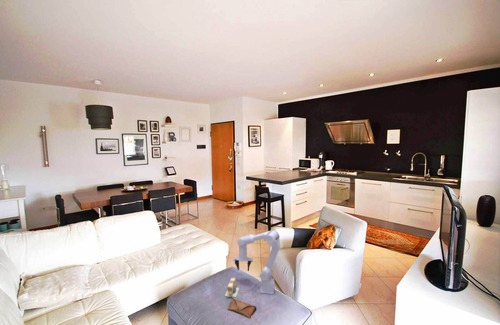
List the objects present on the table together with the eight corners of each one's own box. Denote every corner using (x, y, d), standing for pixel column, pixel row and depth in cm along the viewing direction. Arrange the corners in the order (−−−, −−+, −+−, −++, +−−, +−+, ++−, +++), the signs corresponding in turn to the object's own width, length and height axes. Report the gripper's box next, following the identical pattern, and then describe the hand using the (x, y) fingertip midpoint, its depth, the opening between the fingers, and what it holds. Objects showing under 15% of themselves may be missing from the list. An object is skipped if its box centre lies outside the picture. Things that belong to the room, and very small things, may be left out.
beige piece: (231, 294, 155) (231, 287, 155) (227, 294, 156) (227, 287, 155) (235, 283, 167) (235, 277, 166) (231, 283, 167) (231, 277, 167)
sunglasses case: (225, 309, 145) (228, 298, 147) (230, 308, 151) (233, 297, 153) (250, 319, 137) (253, 306, 139) (255, 317, 142) (257, 305, 145)
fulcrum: (239, 288, 166) (239, 284, 166) (236, 297, 156) (235, 293, 156) (228, 287, 168) (228, 283, 167) (224, 296, 158) (224, 292, 158)
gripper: (253, 250, 174) (253, 267, 175) (234, 249, 176) (235, 266, 177) (251, 255, 167) (252, 273, 168) (232, 254, 169) (233, 271, 170)
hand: (243, 270), depth 172 cm, fingers open, 7 cm apart
